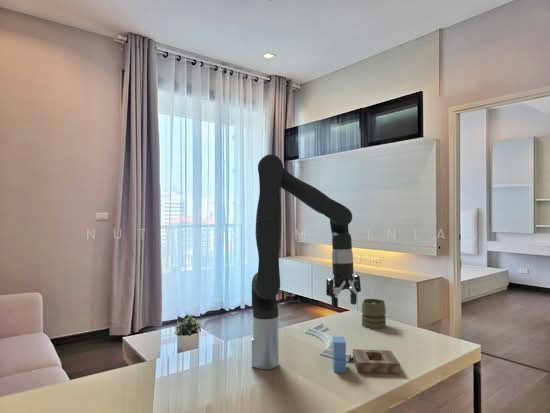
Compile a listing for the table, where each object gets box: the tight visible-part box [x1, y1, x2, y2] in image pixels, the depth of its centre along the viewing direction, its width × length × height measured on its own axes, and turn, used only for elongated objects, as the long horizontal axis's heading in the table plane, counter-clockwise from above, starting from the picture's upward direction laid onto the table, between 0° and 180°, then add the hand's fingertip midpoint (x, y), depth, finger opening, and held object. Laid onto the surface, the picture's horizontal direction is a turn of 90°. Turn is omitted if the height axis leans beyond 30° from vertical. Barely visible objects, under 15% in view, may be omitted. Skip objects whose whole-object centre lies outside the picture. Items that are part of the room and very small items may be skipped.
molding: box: [304, 322, 353, 363], centre depth 146 cm, size 42×12×3 cm, turn 7°
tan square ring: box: [352, 348, 401, 375], centre depth 122 cm, size 14×12×4 cm
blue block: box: [331, 336, 347, 373], centre depth 121 cm, size 4×9×10 cm, turn 175°
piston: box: [361, 298, 387, 330], centre depth 170 cm, size 11×12×11 cm
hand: (344, 306), depth 126 cm, fingers open, 8 cm apart
